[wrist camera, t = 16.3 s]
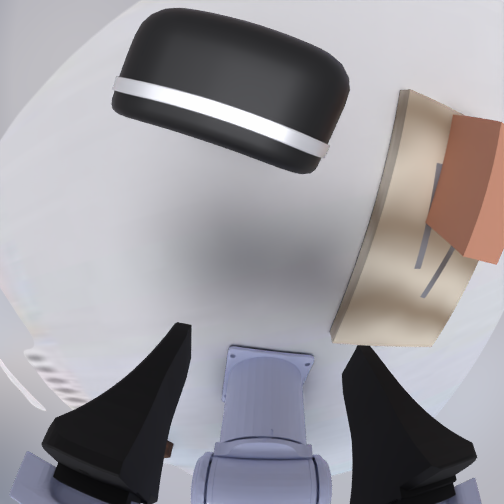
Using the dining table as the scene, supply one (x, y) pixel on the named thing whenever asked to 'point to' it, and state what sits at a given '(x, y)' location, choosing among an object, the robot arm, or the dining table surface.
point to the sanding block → (472, 189)
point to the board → (405, 242)
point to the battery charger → (233, 86)
